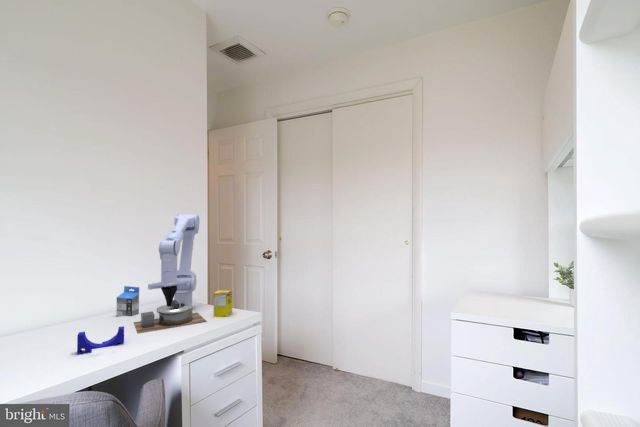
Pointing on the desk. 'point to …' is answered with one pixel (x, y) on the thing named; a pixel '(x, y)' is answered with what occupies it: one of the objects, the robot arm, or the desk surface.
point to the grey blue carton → (128, 302)
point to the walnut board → (195, 320)
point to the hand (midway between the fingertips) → (169, 306)
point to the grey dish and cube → (166, 319)
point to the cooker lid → (174, 308)
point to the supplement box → (222, 303)
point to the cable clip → (88, 345)
